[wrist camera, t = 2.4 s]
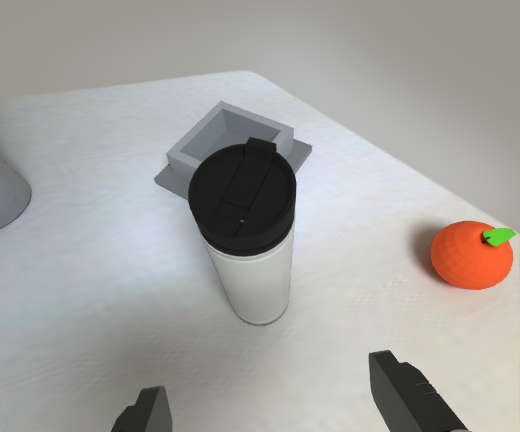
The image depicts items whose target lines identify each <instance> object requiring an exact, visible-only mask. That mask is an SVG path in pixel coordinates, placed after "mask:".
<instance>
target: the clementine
mask: <svg viewBox="0 0 520 432" xmlns="http://www.w3.org/2000/svg"><path fill="white" fill-rule="evenodd" d="M515 235H516V234H515V233H514V231H513V230H512V229H507V228H498V229H495V228H494V227H492V226H490V225H488V224H485V223H481V222H476V221H462V222H457V223H453V224H451V225H449V226H447V227H445V228H444V229H442V230H441V231H440V232H439V233H438V234H437V235H436V236H435V238H434V240H433V243H432V245H431V253H430V255H431V261H432V265H433V266H434V268H435V270H436V272H437V273H438V274H439V275H440V276H441V277H442V278H443V279H444V280H446V281H447V282H448V283H450V284H452V285H454V286H456V287H459V288H463V289H470V290H481V289H485V288H489V287H492V286H495V285H496V284H498V283H500V282H501V281H502V280H503V279H504V278H505V277H506V276H507V275H508V273H509V272H510V270H511V267H512V263H513V251H512V249H511V246H510V244H509V241H508V240H509V239H510V238H512V237H513V236H515Z"/></svg>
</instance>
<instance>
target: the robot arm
mask: <svg viewBox="0 0 520 432" xmlns="http://www.w3.org/2000/svg"><path fill="white" fill-rule="evenodd" d="M30 196H31V190H30V186H29V185H28V184H27V183H26V182H25V181H24V180H23V179H22V178H21V177H20V176H19V175H18V174H17V173H15V172H14V171H13V170H12V169H11V168H10V167H9V166H8V165H7V164H6V163H5V162H4V161H2V160H1V159H0V228H1V227H3V226H5V225H7V224H8V223H10V222H11V221H13V220H14V219H15V218H16V217H18V216H19V215H20V214H21V213H22V211H23V210H24V209H25V208H26V206H27V204H28V202H29V200H30ZM369 370H370V385H371V391H372V395H373V398H374V401H375V404H376V406H377V408H378V409H379V411H380V413H381V415H382V417H383V419H384V421H385V423H386V425H387V426H388V428H389V430H390V432H471V431H469V430H468V429H467V428H466V427H465V426H464V424H463V423H462V422H461V421H460V419H459V418H458V417H457V416H456V415H455V413H454V412H453V411H452V410H451V408H450V407H449V406H448V405H447V403H446V402H445V401H444V400H443V399H442V397H441V396H440V395H439V394H437V392H436V390H435V389H434V387H433V386H432V385H431V384H429V381H428V380H427V379H426V378H425V376H424V375H423V374H422V373H421V371H420V370H418V369H417V368H415V367H414V366H412V365H411V364H409V363H408V362H403V363H399V362H398V361H397V359H396V358H395V357H394V355H393V354H392V353H391V351H389V350H385V351H379V352H373V353H369ZM111 432H172V417H171V413H170V408H169V404H168V400H167V396H166V391H165V388H164V386H156V387H150V388H144V389H142V390H141V392H140V394H139V397H138V399H137V401H136V404H135V405H133V406H128V407H127V408H126V409H125V410H124V411H123V412H122V414H121V415H120V416H119V417H118V418H117V419H116V422H115V424H114V426H113V428H112V430H111Z"/></svg>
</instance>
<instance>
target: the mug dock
mask: <svg viewBox="0 0 520 432" xmlns="http://www.w3.org/2000/svg"><path fill="white" fill-rule="evenodd" d="M293 132H294V128H292V127H289V126H287V125H284V124H281V123H279V122H276V121H273V120H270V119H268V118H265V117H262V116H260V115H257V114H254V113H252V112H249V111H246V110H244V109H241V108H238V107H236V106H233V105H230V104H228V103H225V102H222V101H220V102H219V103H218V104H217V105H216V106H215V107H214V108H213V109H212V110H211V111H210V112H209V113H208V114H207V115H206V116H205V117H204V118H203V119H202V120H200V121H199V122H198V123H197V124H196V125H195V126H194V127H193V128H192V129H191V130H190V131H189V132H188V133H187V134H186V135H185V136H184V137H183V138H182V139H181V140H180V141H179V142H178V143H177V144H176V145H175V146H174V147H173V148H171V149H170V150H169V151H168V152H167V153H166V155H167V158H168V160H169V162H170V163H169V164H168V165H167V166H166V167H165V168H164V169H163V170H162V171H161V172H160V173H159V174H158V175H157V176H156V177H155V178H154V180H155V182H156V184H158V185H160V186H162V187H164V188H166V189H168V190H170V191H172V192H173V193H175V194H177V195H179V196H181V197H183V198H185V199H187V200H188V189H189V185H190V181H191V179H192V176H193V174H194V172H195V171H196V169H197V168H198V167H199V165H200V164H201V163H202V162H203V161H204V160H205V159H206V158H207V157H209V156H210V155H212V154H213V153H214V152H216V151H218V150H220V149H222V148H225V147H228V146H231V145H236V144H246V142H247V141H248V139H249V137H253V138H257V139H261V140H265V141H269V142H273V143H276V144H277V151H276V152H278V153H279V154H280V155H282V156H283V157H284V158H285V159H286V160H287V162H288V163H289V164H290V166H291V167H292V170H293V172H294V174H296V172H297V171H298V169H299V168H300V167H301V165H302V164H303V162H304V161H305V160H306V158H307V157H308V155H309V154H310V153H311V151H312V146H311V145H308V144H306V143H303V142H300V141H298V140H295V139H293Z"/></svg>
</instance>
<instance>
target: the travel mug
mask: <svg viewBox="0 0 520 432" xmlns="http://www.w3.org/2000/svg"><path fill="white" fill-rule="evenodd" d="M276 151H277V144H276V143H273V142H269V141H265V140H261V139H257V138H253V137H249V139H248V141H247V142H246V144H236V145H231V146H228V147H225V148H222V149H220V150H218V151H216V152H214V153H213V154H212V155H210V156H209V157H207V158H206V159H205V160H204V161H203V162H202V163H201V164H200V165H199V167H198V168H197V169H196V171H195V172H194V174H193V176H192V179H191V181H190V185H189V189H188V201H189V205H190V209H191V211H192V214H193V216H194V218H195V221H196V223H197V225H198V229H199V232H200V234H201V236H202V239H203V241H204V243H205V246H206V248H207V250H208V252H209V255H210V257H211V259H212V262H213V264H214V266H215V268H216V271H217V273H218V275H219V277H220V280H221V282H222V284H223V286H224V289H225V291H226V293H227V295H228V298H229V300H230V302H231V305H232V307H233V309H234V311H235V313H236V314H237V316H238V317H239V318H240V319H241V320H243V321H244V322H246V323H248V324H251V325H254V326H265V325H269V324H272V323H273V322H275V321H277V320H278V319H279V318H280V317H281V316H282V315H283V314H284V312H285V310H286V308H287V306H288V302H289V290H290V278H291V265H292V252H293V239H294V226H295V201H296V178H295V174H294V172H293V170H292V167H291V166H290V164H289V163H288V162H287V160H286V159H285V158H284V157H283V156H282V155H280V154H279V153H278V152H276Z"/></svg>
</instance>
